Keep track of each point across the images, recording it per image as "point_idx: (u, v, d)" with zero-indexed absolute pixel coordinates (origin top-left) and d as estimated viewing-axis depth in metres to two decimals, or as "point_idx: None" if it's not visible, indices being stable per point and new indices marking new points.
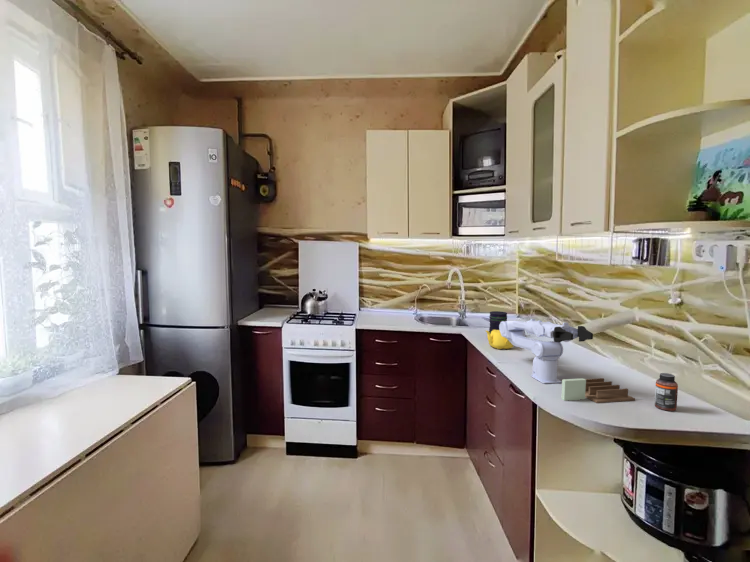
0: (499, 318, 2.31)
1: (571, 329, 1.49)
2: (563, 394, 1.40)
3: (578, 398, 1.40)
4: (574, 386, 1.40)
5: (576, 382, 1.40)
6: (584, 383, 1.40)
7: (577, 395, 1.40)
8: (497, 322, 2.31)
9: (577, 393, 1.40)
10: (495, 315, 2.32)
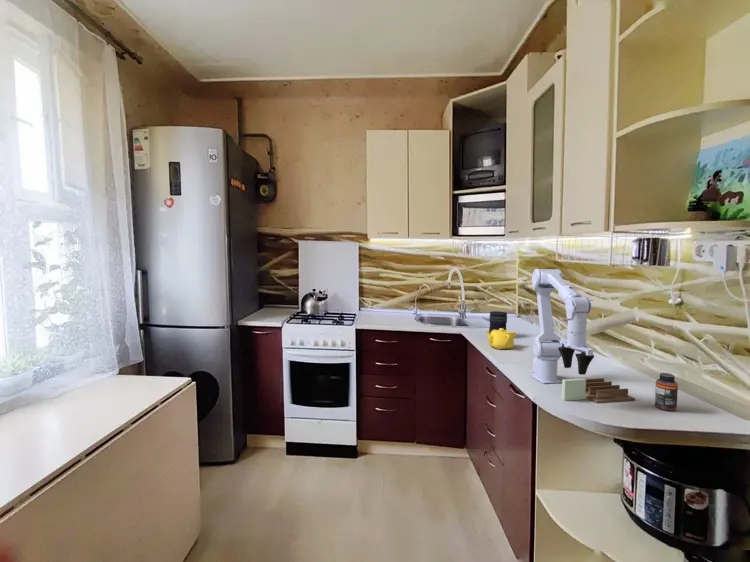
0: (499, 318, 2.31)
1: None
2: (563, 394, 1.40)
3: (578, 398, 1.40)
4: (574, 386, 1.40)
5: (576, 382, 1.40)
6: (584, 383, 1.40)
7: (577, 395, 1.40)
8: (497, 322, 2.31)
9: (577, 393, 1.40)
10: (495, 315, 2.32)
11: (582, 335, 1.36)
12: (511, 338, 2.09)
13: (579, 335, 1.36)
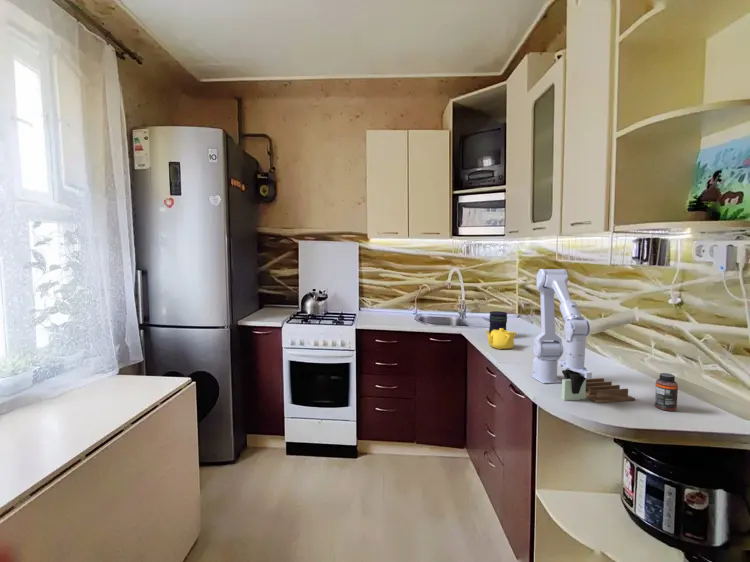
0: (499, 318, 2.31)
1: None
2: (563, 394, 1.40)
3: (578, 397, 1.40)
4: None
5: None
6: (584, 383, 1.40)
7: (577, 395, 1.40)
8: (497, 322, 2.31)
9: None
10: (495, 315, 2.32)
11: (580, 358, 1.37)
12: (511, 338, 2.09)
13: (578, 357, 1.37)
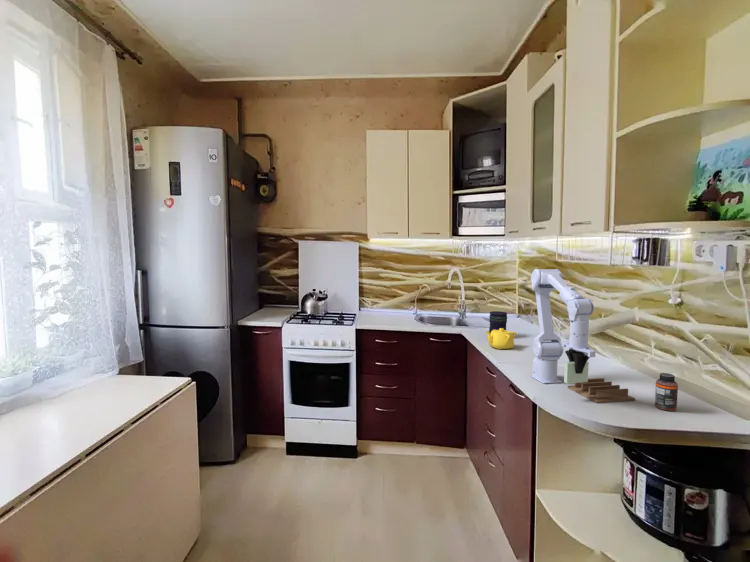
0: (499, 318, 2.31)
1: None
2: (566, 377, 1.40)
3: (581, 380, 1.40)
4: None
5: None
6: (587, 365, 1.40)
7: (580, 378, 1.40)
8: (497, 322, 2.31)
9: (580, 376, 1.40)
10: (495, 315, 2.32)
11: (584, 337, 1.37)
12: (511, 338, 2.09)
13: (581, 337, 1.37)
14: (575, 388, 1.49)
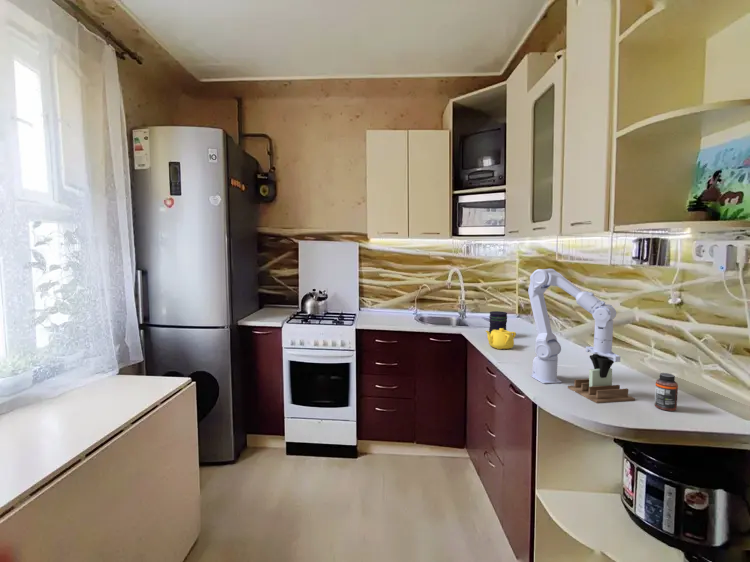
0: (499, 318, 2.31)
1: None
2: (591, 384, 1.45)
3: None
4: None
5: None
6: (610, 372, 1.45)
7: (604, 384, 1.45)
8: (497, 322, 2.31)
9: (604, 382, 1.45)
10: (495, 315, 2.32)
11: (609, 342, 1.42)
12: (511, 338, 2.09)
13: (606, 342, 1.42)
14: (575, 388, 1.49)
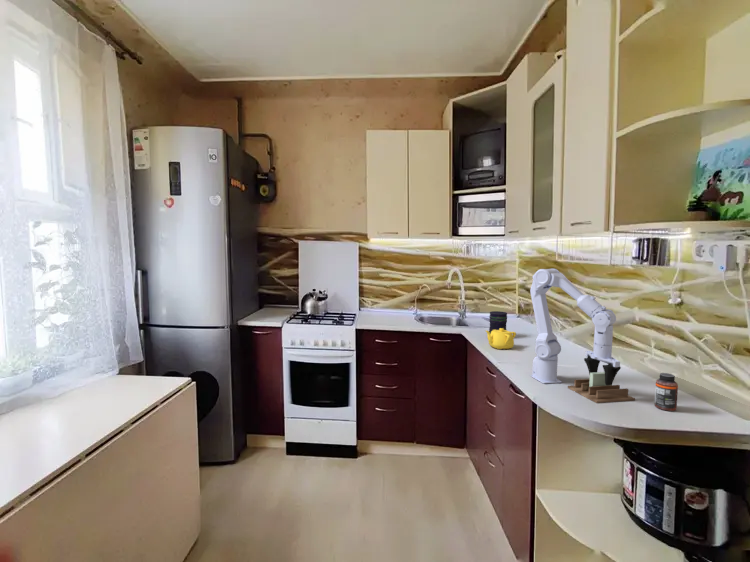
0: (499, 318, 2.31)
1: None
2: None
3: None
4: (602, 379, 1.45)
5: (604, 375, 1.45)
6: None
7: None
8: (497, 322, 2.31)
9: None
10: (495, 315, 2.32)
11: (608, 348, 1.42)
12: (511, 338, 2.09)
13: (606, 347, 1.42)
14: (575, 388, 1.49)
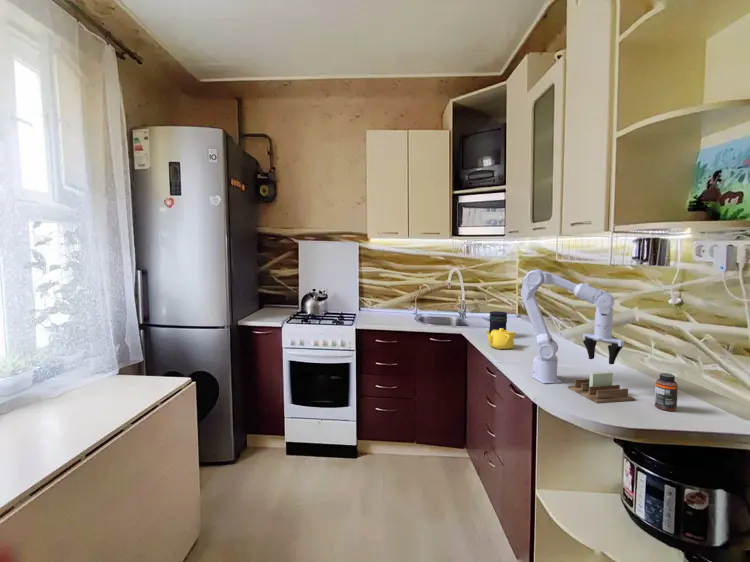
0: (499, 318, 2.31)
1: None
2: None
3: None
4: (602, 379, 1.45)
5: (604, 375, 1.45)
6: (611, 376, 1.46)
7: None
8: (497, 322, 2.31)
9: None
10: (495, 315, 2.32)
11: (610, 328, 1.48)
12: (511, 338, 2.09)
13: (609, 328, 1.47)
14: (575, 388, 1.49)
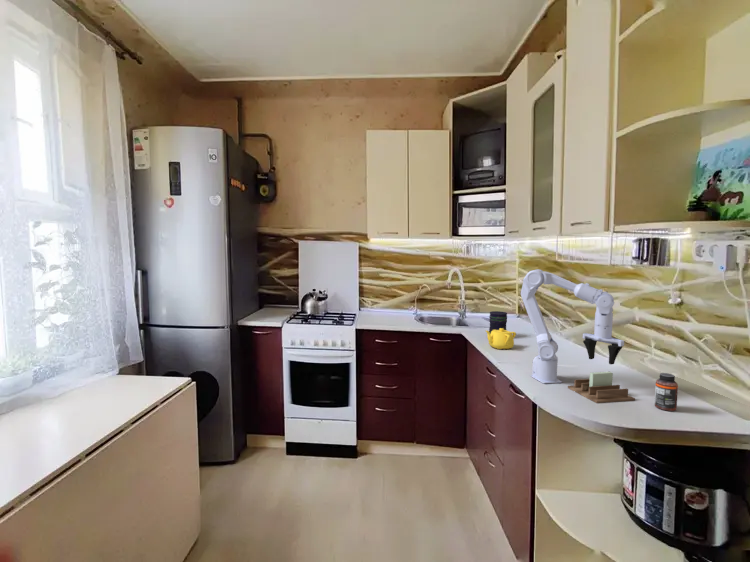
0: (499, 318, 2.31)
1: None
2: None
3: None
4: (602, 379, 1.45)
5: (604, 375, 1.45)
6: (611, 376, 1.46)
7: None
8: (497, 322, 2.31)
9: None
10: (495, 315, 2.32)
11: (610, 328, 1.48)
12: (511, 338, 2.09)
13: (609, 328, 1.47)
14: (575, 388, 1.49)
